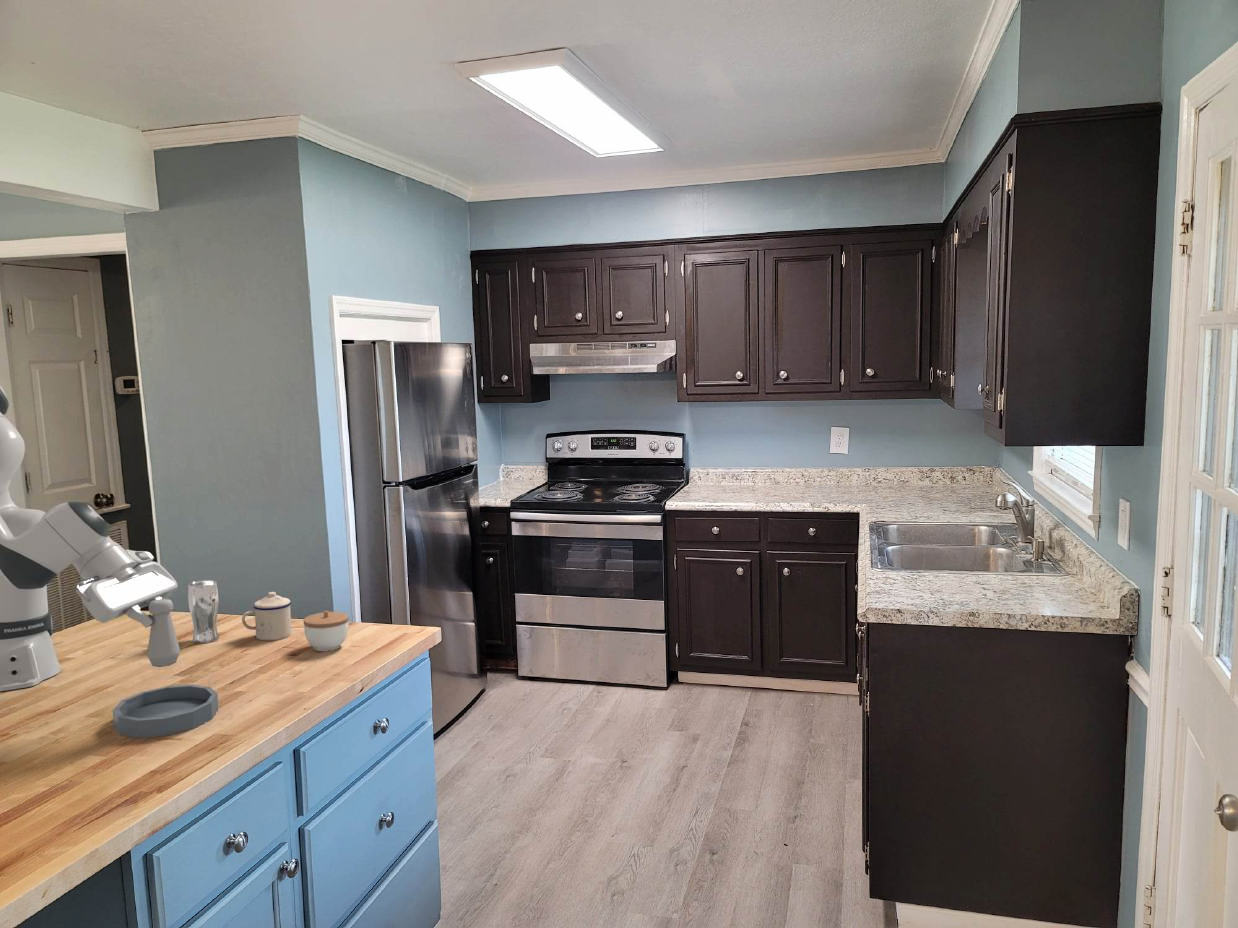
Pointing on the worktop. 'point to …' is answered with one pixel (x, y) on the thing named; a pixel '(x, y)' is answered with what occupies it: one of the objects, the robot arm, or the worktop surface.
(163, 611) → the salt shaker
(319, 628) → the lidded jar
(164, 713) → the bowl
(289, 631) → the teacup with lid
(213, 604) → the beer glass
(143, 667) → the worktop surface
